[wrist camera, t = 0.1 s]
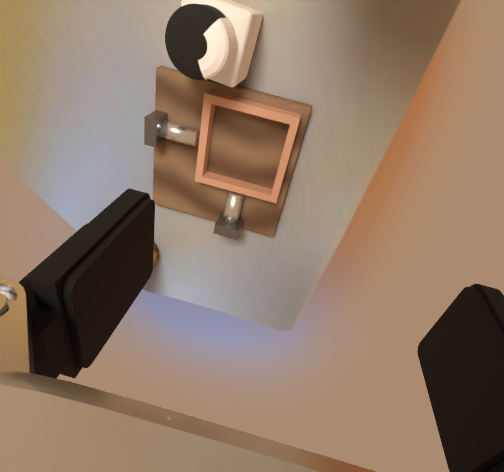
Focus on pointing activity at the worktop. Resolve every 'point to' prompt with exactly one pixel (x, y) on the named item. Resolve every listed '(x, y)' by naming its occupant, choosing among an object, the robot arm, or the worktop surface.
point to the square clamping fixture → (223, 151)
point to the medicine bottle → (213, 39)
